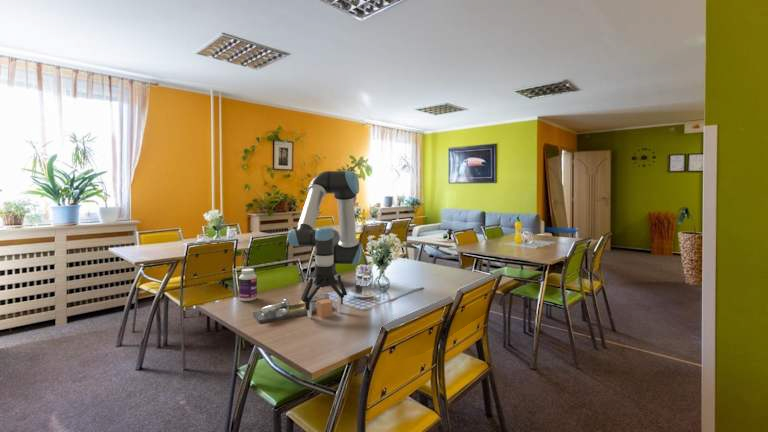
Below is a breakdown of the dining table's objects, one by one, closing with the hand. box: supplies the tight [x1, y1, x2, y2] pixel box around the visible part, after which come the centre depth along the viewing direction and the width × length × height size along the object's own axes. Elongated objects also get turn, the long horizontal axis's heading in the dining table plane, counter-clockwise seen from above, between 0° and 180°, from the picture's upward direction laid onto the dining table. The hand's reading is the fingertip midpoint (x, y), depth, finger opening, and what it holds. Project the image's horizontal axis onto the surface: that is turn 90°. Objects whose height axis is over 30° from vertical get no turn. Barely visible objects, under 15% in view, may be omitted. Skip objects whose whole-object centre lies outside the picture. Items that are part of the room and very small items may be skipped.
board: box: [252, 298, 335, 324], centre depth 158 cm, size 32×11×4 cm, turn 122°
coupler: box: [316, 298, 333, 319], centre depth 156 cm, size 5×5×6 cm
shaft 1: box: [259, 298, 290, 319], centre depth 151 cm, size 11×5×6 cm, turn 142°
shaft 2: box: [310, 293, 330, 305], centre depth 163 cm, size 11×5×6 cm, turn 122°
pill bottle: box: [238, 268, 258, 302], centre depth 176 cm, size 8×8×14 cm
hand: (324, 314), depth 156 cm, fingers open, 12 cm apart
